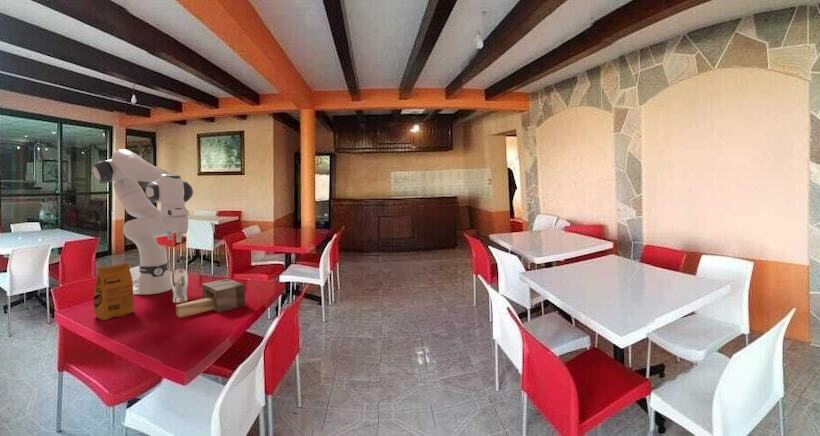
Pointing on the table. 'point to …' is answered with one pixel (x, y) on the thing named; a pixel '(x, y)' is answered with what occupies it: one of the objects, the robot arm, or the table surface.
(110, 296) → the coffee package
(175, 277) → the beer glass
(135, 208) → the robot arm
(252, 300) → the table surface
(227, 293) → the end cap
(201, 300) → the slat
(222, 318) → the table surface
